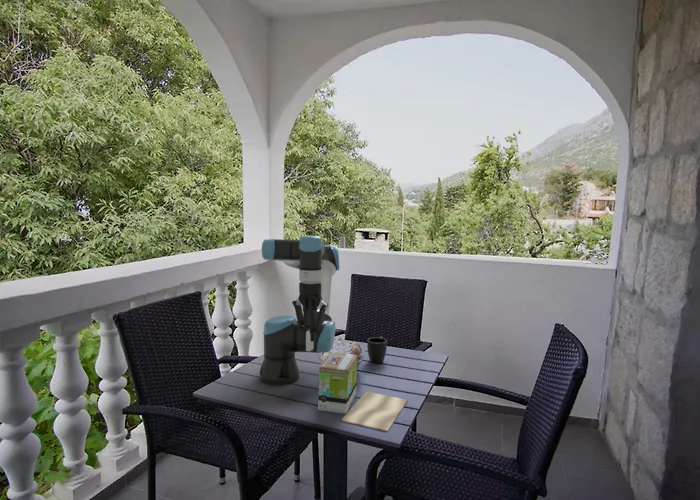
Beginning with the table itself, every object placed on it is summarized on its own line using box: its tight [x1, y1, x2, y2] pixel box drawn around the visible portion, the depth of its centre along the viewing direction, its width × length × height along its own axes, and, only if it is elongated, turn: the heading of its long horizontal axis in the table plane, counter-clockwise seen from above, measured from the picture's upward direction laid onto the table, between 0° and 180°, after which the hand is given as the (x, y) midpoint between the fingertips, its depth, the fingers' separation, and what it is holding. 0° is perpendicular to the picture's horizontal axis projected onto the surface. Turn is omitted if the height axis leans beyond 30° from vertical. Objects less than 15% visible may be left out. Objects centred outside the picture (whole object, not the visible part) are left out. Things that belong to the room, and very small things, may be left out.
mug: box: [366, 336, 388, 365], centre depth 180 cm, size 8×12×10 cm
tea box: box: [317, 351, 358, 415], centre depth 140 cm, size 15×10×15 cm
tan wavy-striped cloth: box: [340, 391, 408, 433], centre depth 135 cm, size 15×22×1 cm
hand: (309, 349), depth 143 cm, fingers closed
